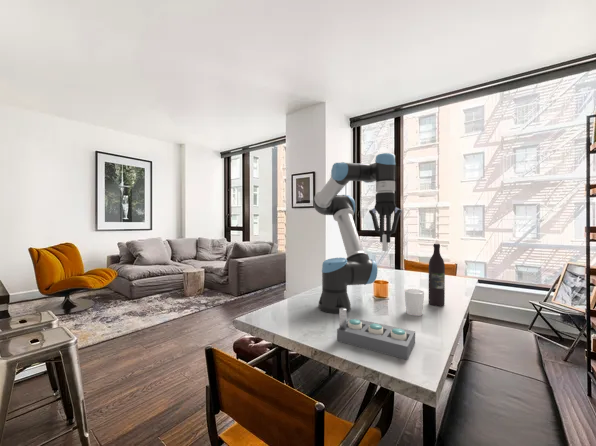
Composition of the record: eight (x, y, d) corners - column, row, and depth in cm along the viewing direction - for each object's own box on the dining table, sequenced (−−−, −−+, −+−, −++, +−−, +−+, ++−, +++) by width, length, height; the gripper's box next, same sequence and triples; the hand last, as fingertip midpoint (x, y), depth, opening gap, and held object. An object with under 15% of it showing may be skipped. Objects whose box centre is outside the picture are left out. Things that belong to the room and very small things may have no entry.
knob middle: (366, 341, 91) (366, 326, 90) (371, 336, 95) (371, 322, 94) (380, 345, 88) (380, 330, 88) (384, 339, 92) (384, 325, 92)
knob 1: (346, 336, 95) (346, 322, 95) (351, 331, 99) (351, 317, 99) (359, 339, 92) (359, 325, 92) (363, 334, 96) (363, 320, 96)
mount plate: (337, 340, 92) (337, 329, 92) (351, 327, 103) (351, 317, 103) (407, 359, 79) (407, 346, 79) (415, 343, 90) (415, 331, 90)
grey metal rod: (338, 329, 92) (338, 309, 92) (341, 326, 94) (341, 307, 94) (344, 330, 91) (344, 310, 91) (347, 328, 93) (347, 308, 93)
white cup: (426, 317, 114) (426, 294, 114) (406, 315, 116) (406, 293, 116) (421, 310, 122) (421, 289, 122) (403, 309, 124) (403, 288, 123)
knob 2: (389, 347, 86) (389, 331, 86) (392, 341, 90) (392, 326, 90) (404, 351, 84) (404, 335, 84) (407, 345, 88) (407, 330, 88)
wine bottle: (429, 305, 129) (429, 244, 128) (427, 301, 135) (428, 243, 135) (445, 307, 126) (446, 244, 126) (443, 303, 133) (443, 243, 133)
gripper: (366, 192, 108) (366, 250, 108) (400, 190, 101) (399, 252, 101) (372, 194, 114) (372, 248, 115) (404, 192, 107) (404, 250, 107)
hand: (385, 250), depth 108 cm, fingers closed
